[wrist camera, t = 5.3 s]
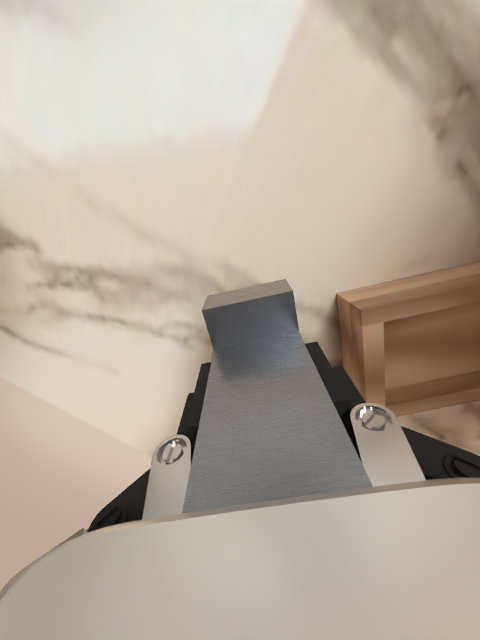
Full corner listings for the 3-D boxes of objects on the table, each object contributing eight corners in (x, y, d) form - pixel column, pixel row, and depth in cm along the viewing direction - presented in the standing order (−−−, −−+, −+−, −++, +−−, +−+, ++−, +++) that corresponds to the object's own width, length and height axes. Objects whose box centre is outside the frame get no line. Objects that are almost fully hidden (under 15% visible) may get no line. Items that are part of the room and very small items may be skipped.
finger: (285, 278, 13) (371, 410, 4) (302, 385, 15) (376, 596, 7) (207, 296, 13) (148, 447, 5) (236, 397, 15) (231, 610, 7)
